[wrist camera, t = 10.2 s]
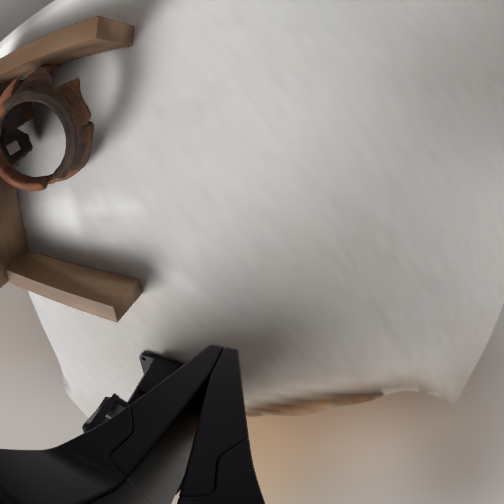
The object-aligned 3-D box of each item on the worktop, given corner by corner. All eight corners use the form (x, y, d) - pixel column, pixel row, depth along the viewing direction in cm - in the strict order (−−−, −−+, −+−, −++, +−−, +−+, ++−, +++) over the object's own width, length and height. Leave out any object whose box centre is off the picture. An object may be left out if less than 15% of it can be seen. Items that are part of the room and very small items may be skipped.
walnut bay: (141, 294, 24) (81, 366, 16) (24, 261, 27) (-30, 303, 19) (134, 26, 15) (36, 3, 7) (5, 71, 17) (-68, 82, 9)
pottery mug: (78, 34, 16) (37, 45, 10) (132, 118, 22) (117, 161, 17) (-14, 121, 17) (-60, 164, 11) (39, 187, 24) (11, 243, 18)
